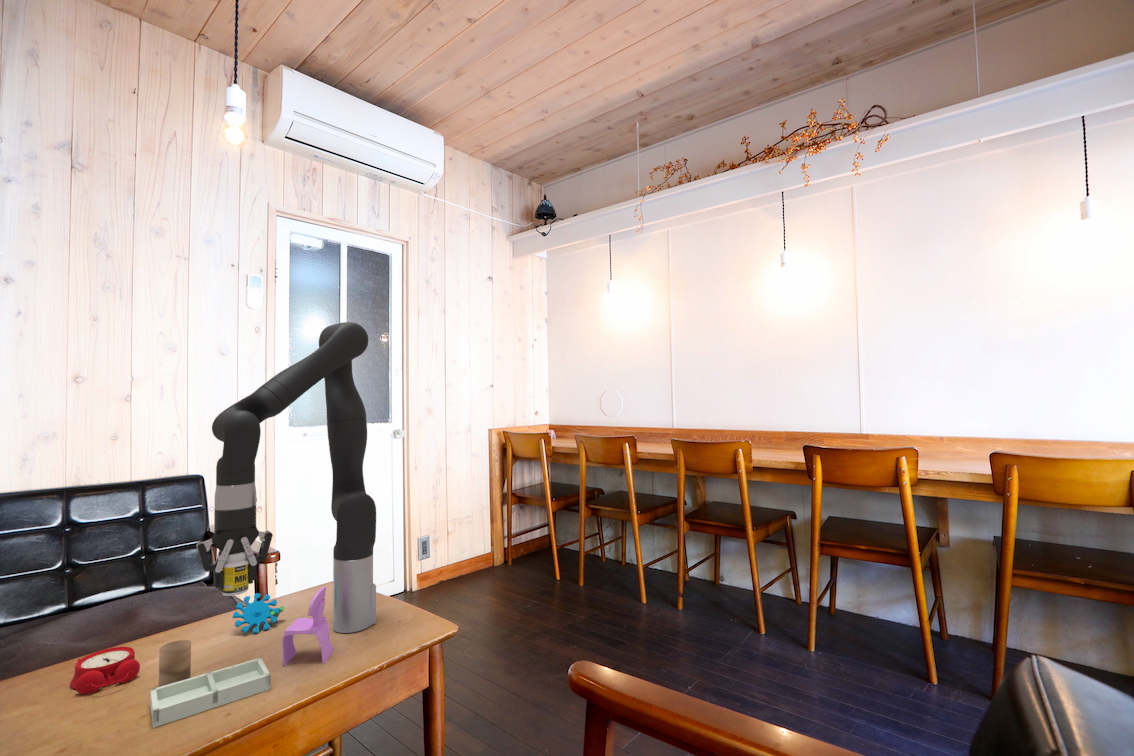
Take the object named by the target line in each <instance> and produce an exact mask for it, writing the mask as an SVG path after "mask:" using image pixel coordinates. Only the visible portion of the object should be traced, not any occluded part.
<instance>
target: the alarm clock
mask: <svg viewBox="0 0 1134 756" xmlns="http://www.w3.org/2000/svg"><path fill="white" fill-rule="evenodd" d="M135 657H136V652H135V649H134V648H133V647H130V646H129V647H128V646H115V647H111V648H110V647H109V648H106V649H102V650H98V651H96V652H93V653H90V654H87V655H85V656H84V657H82V658H78V659H77V662H76V663H75V666H74V674H73V677H72V678H71V680H70V688H71V689H72V690H75V691H77V693H79V695H80V694H81V695H91V694H94V693H96V692H98V691H99V690H100V689H101V688H104V687H108V686H111V685H114V684H117V683H119V684H126V683H129V682H131V681H133V680H134V679H135V678H136V677H137V676H138V674H139V672H140V670H141V666H140V665H141V664H140V662H139V661H138V660H136V659H135ZM128 681H129V682H128Z"/></svg>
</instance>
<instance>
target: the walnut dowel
mask: <svg viewBox="0 0 1134 756" xmlns="http://www.w3.org/2000/svg"><path fill="white" fill-rule="evenodd" d="M158 651H159V652H158V653H159V655H158V656H159V657H158V658H159V659H158V660H159V661H158V662H159V663H158V670H159V671H158V687H161V686H165V685H168V684H171V683H175V682H178V681H182V680H185V679H189V678H192V677H191V672H192V671H191V665H192V641H191V640H190V639H189V640H188V639H181V640H174V641H171V642H168V643H166V644H164V645H162V646H161V647H160V648H159V649H158Z"/></svg>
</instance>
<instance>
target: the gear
mask: <svg viewBox="0 0 1134 756" xmlns="http://www.w3.org/2000/svg"><path fill="white" fill-rule="evenodd" d="M261 595H262V594H261V593H259V592H257V593H254V596H253V598H254V600H253V601H252V602H250V600H251V596H250V595H248V596H244V598H243V602H244V603H245V604H246V607H243V602H238V603H237V604H236V605H235V609H236V610H238V611H234V612H233V615H232V619H238V620H235V621H234V622H235V623H234V626H235V628H238V627H240V626H242V625H243V627H242V629H241V631H242V632H243V633H244V634H246V633H248V632H249V629H250V628H251V627H253V626H256V627H254V628H253V629H252V631H251V633H252V634H258V633H259V631H260V625H261V624H264V625H263V627H262V630H263V631H266V630H267V631H268V630H269V629H270V624H269V623H268V619H270V623H271V624H274V623H276V622H277V620H278V617H279V616H280V613H283V612H284V610H285V606H284V605H281V606H280V607H276V606H277V604H278V602H277V599H273V600H272V601H270V602H265V601H269V600H271V595H269V594H264V597H263V598H262V599H260V598H261ZM258 599H260V600H258ZM271 606H272V607H276V608H272V607H271ZM239 611H241V612H242V614H241V613H239ZM239 618H240V619H243V620H239ZM246 624H248V625H246ZM244 625H245V626H244Z"/></svg>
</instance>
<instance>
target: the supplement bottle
mask: <svg viewBox="0 0 1134 756" xmlns="http://www.w3.org/2000/svg"><path fill="white" fill-rule="evenodd" d="M222 571H223V590H221V595H222V596H225V597H232V596H238V595H243V594H245V593H246V592H247V591H249V585H250V584H249V561H248V559H247V555H246V552H241V553H235V554H229V555H228V557H227V559H226V561H225V563H224V566H223V568H222Z"/></svg>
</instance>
